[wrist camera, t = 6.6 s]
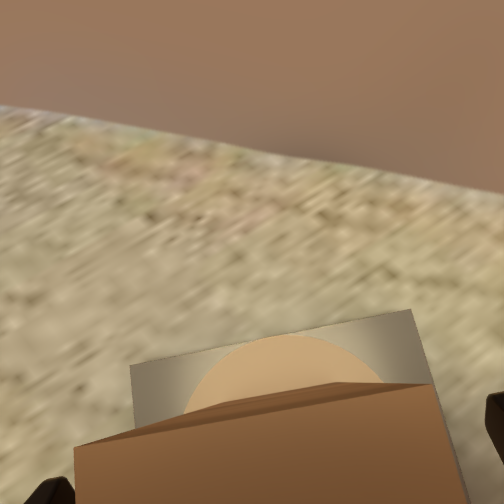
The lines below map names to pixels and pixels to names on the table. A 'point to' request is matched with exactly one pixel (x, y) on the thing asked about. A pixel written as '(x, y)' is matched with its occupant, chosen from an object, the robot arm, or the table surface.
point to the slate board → (285, 367)
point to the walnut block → (282, 452)
